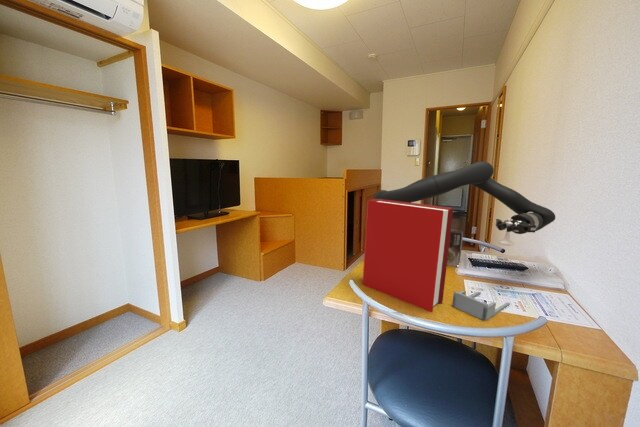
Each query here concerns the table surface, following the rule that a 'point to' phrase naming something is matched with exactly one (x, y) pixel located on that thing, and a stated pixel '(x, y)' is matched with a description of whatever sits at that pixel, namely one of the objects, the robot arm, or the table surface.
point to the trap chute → (475, 305)
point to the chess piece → (507, 236)
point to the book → (407, 250)
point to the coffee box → (455, 247)
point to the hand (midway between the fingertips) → (504, 228)
